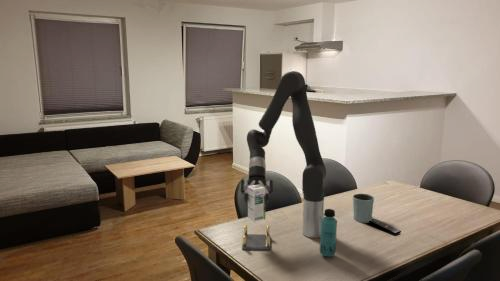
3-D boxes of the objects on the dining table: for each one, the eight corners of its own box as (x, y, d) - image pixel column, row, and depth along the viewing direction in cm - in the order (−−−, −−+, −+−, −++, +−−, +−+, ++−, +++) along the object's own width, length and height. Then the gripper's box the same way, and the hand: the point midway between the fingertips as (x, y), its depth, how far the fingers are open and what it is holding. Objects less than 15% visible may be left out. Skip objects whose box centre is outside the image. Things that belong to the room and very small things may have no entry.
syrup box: (253, 222, 157) (254, 189, 154) (247, 216, 162) (247, 185, 159) (265, 219, 159) (265, 187, 156) (258, 214, 164) (259, 183, 161)
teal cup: (373, 224, 181) (375, 201, 179) (352, 222, 183) (353, 199, 181) (371, 216, 191) (372, 194, 189) (351, 214, 193) (352, 192, 191)
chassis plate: (270, 237, 168) (270, 225, 167) (270, 250, 157) (270, 237, 155) (243, 236, 169) (243, 225, 168) (242, 249, 157) (242, 237, 156)
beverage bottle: (317, 252, 155) (319, 207, 150) (333, 251, 155) (335, 206, 151) (321, 260, 148) (323, 213, 144) (337, 259, 149) (340, 213, 145)
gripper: (240, 164, 163) (239, 199, 155) (273, 165, 163) (273, 199, 154) (241, 172, 170) (240, 206, 161) (272, 173, 169) (273, 206, 160)
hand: (256, 202), depth 157 cm, fingers closed on syrup box, 7 cm apart
